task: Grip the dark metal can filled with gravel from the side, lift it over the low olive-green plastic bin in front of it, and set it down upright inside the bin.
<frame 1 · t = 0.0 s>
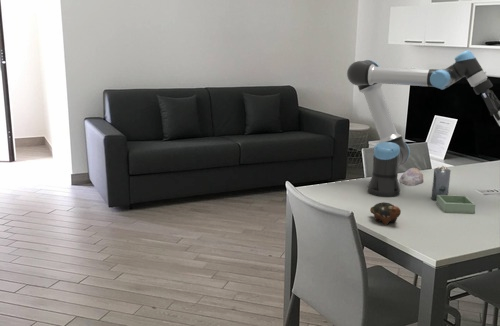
decorative turtle: (384, 221, 215), on the table
bin: (454, 208, 233), on the table
stone: (411, 182, 275), on the table
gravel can: (439, 199, 245), on the table
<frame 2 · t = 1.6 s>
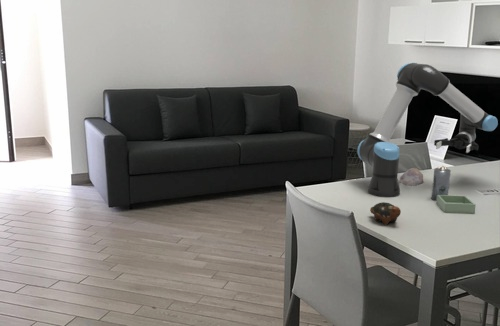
hand: (451, 147, 249), 22 cm above the table, tool horizontal, fingers open, 13 cm apart
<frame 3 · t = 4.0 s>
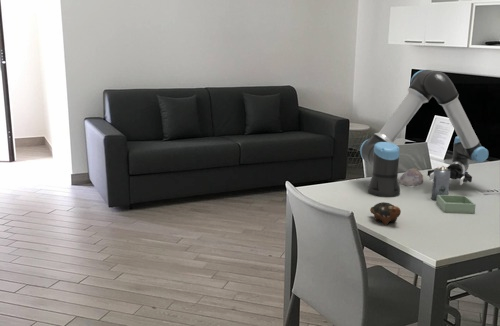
hand: (445, 179, 247), 8 cm above the table, tool horizontal, fingers open, 13 cm apart
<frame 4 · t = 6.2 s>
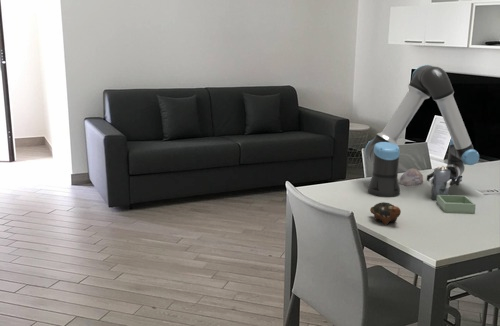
hand: (438, 184, 239), 8 cm above the table, tool horizontal, fingers closed on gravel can, 7 cm apart
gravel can: (439, 199, 245), on the table, touching gripper
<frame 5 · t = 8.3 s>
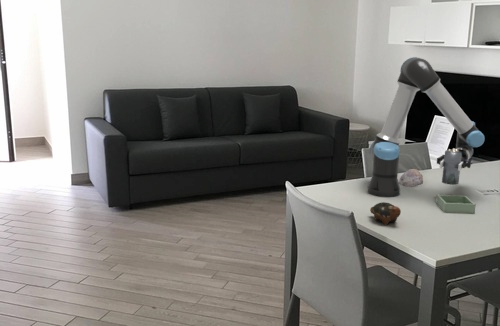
hand: (449, 166, 232), 18 cm above the table, tool horizontal, fingers closed on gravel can, 7 cm apart
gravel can: (450, 182, 238), point 10 cm above the table, touching gripper
when the fingers open (11 cm above the table, at t = 10.6 s): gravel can drops 1 cm, resting on bin.
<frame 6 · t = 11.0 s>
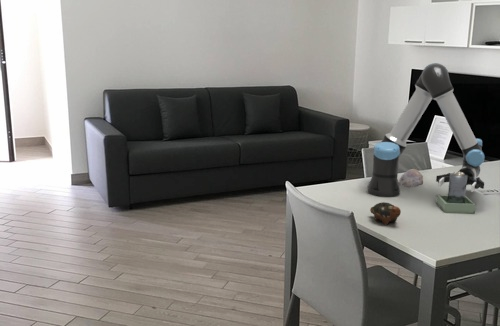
hand: (455, 186, 227), 11 cm above the table, tool horizontal, fingers open, 13 cm apart
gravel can: (455, 206, 232), point 1 cm above the table, touching bin
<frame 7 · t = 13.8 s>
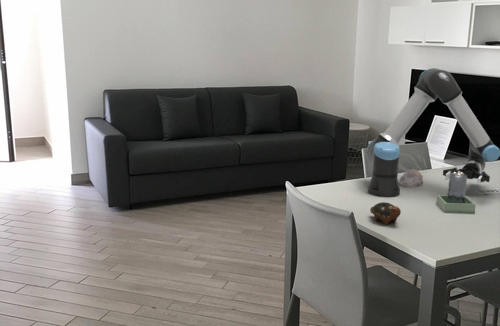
hand: (462, 179, 238), 11 cm above the table, tool horizontal, fingers open, 13 cm apart
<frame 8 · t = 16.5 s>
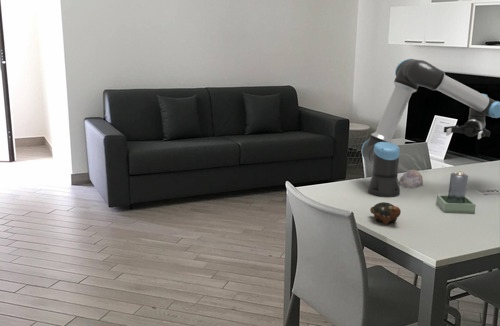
hand: (462, 134, 241), 30 cm above the table, tool horizontal, fingers open, 13 cm apart
at the end: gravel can 0.1 cm off-centre on the bin, point 1.1 cm above the bin's base; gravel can tilted 1°; the gripper is holding nothing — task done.
